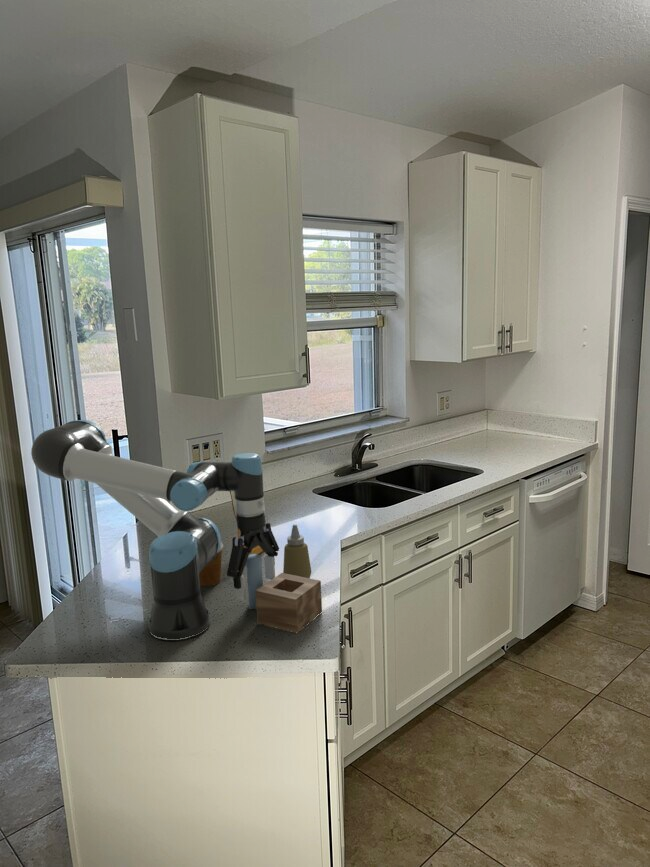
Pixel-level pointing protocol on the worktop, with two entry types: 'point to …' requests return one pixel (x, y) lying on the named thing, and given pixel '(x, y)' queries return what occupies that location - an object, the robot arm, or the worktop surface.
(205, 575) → the disposable coffee cup
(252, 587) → the dowel
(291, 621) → the socket block
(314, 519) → the worktop surface
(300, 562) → the squeeze bottle
